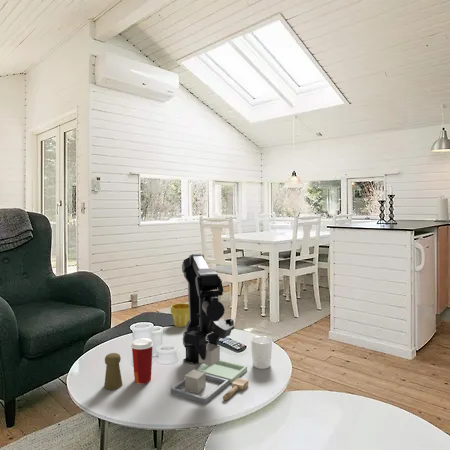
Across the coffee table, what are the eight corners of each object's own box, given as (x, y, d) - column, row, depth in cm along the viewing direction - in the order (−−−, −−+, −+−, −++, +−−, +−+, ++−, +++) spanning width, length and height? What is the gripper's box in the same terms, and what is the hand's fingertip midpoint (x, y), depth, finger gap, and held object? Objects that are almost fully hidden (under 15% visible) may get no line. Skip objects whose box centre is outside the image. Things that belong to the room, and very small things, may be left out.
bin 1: (170, 392, 126) (170, 388, 126) (196, 375, 139) (196, 371, 139) (205, 404, 119) (205, 399, 119) (228, 384, 132) (228, 380, 132)
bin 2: (196, 373, 140) (196, 369, 140) (213, 361, 150) (213, 358, 150) (231, 383, 133) (231, 379, 132) (247, 370, 142) (247, 366, 142)
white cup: (271, 370, 142) (271, 344, 142) (250, 368, 144) (249, 342, 143) (272, 361, 150) (272, 336, 149) (252, 360, 152) (252, 335, 151)
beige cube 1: (198, 362, 127) (198, 347, 126) (207, 357, 131) (207, 342, 130) (211, 366, 124) (211, 351, 124) (219, 360, 128) (219, 345, 128)
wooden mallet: (229, 403, 120) (229, 397, 120) (218, 399, 122) (218, 394, 122) (248, 385, 131) (248, 380, 131) (238, 382, 133) (238, 377, 133)
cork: (106, 391, 127) (105, 359, 127) (102, 383, 133) (101, 352, 132) (124, 387, 130) (123, 355, 129) (120, 379, 136) (119, 349, 135)
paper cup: (157, 377, 138) (157, 338, 137) (146, 387, 130) (146, 346, 129) (138, 373, 140) (138, 336, 139) (127, 383, 133) (126, 344, 132)
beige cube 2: (185, 390, 128) (184, 375, 128) (193, 383, 133) (193, 369, 132) (197, 393, 126) (197, 378, 126) (205, 387, 130) (205, 372, 130)
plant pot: (191, 328, 189) (190, 308, 188) (169, 328, 188) (169, 309, 188) (192, 321, 199) (191, 302, 199) (171, 321, 199) (171, 303, 198)
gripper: (211, 322, 114) (211, 373, 115) (243, 307, 129) (243, 352, 131) (182, 316, 120) (182, 364, 121) (216, 302, 136) (217, 345, 137)
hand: (208, 356), depth 127 cm, fingers closed on beige cube 1, 5 cm apart
